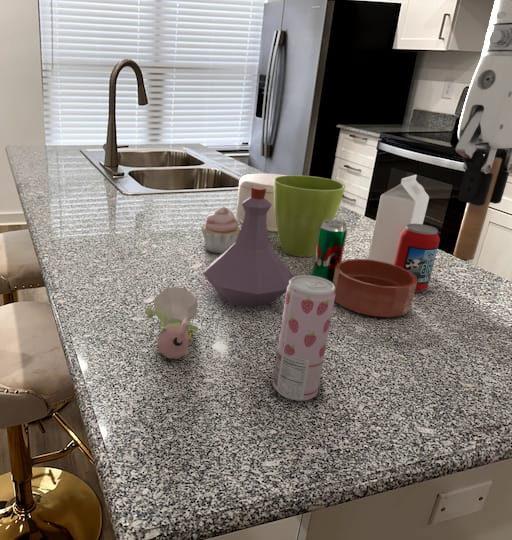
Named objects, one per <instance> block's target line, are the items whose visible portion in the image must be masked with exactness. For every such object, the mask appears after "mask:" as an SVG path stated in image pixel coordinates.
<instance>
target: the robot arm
mask: <svg viewBox="0 0 512 540" xmlns="http://www.w3.org/2000/svg"><path fill="white" fill-rule="evenodd" d="M458 123H459V124H458V129H457V139H458V142H457V144H456V146H455V152H456V153H458V154H459V155H460V156H461V157H462V159H463V161H464V163H463V166H462V167H463V170H464V172H463V173H464V174H463V176H462V177H463V178H462V181H461V184H460V189H459V193H458V197H457V199H458V201H459V202H463V203H466V204H467V203H470V204H474V205H478V206H482V205H484V204H485V201H486V198H487V194H488V191H489V187H490V184H491V180H492V177H493V174H492V173H489V172H490V170H491V167H492V164H493V161H494V158H495V157H497V158H501V159H502V162H501V166H500V169H499V173H498V176H497V180H496V183H495V187H494V190H493V194H492V197H491V201H490V204H495V205H496V204H500V203H501V202H502V199H503V196H504V192H505V189H506V186H507V182H508V178H509V177H510V176H509V175H510V173H511V171H512V0H494V2H493V8H492V11H491V16H490V19H489V23H488V27H487V32H486V34H485V39H484V43H483V47H482V51H481V55H480V59H479V61H478V63H477V67H476V69H475V72H474V74H473V76H472V80H471V82H470V85H469V88H468V91H467V95H466V97H465V101H464V103H463V107H462V112H461V115H460V118H459V122H458ZM484 143H488V144H484ZM483 152H485V153H483Z"/></svg>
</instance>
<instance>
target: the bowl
mask: <svg viewBox="0 0 512 540" xmlns="http://www.w3.org/2000/svg"><path fill="white" fill-rule="evenodd" d="M333 284H334V286H335V300H334V302H335V303H337V304H339V305H340V306H341V307H343V308H345V309H347V310H349V311H352V312H355V313H358V314H361V315H364V316H372V317H379V318H380V317H381V318H393V317H402V316H404V315H406V314H408V313H409V312H411V307H412V303H413V300H414V295H415V293H416V292H415V288H416V284H417V277H416V276H415V275H414V274H413V273H412V272H410V271H408V270H406V269H404V268H402V267H400V266H397V265H394V264H390V263H387V262H382V261H376V260H370V259H368V258H349V259H344V260H342V261H341V262H338V263H337V265H336V267H335V273H334V278H333Z"/></svg>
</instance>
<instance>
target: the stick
mask: <svg viewBox="0 0 512 540" xmlns="http://www.w3.org/2000/svg"><path fill="white" fill-rule="evenodd" d="M501 162H502V159H501V158H497V157H495V158H494V161H493V164H492V167H491V170H490V172H489V173H492V174H493V177H492V180H491V184H490V187H489V191H488V194H487V198H486V201H485V204H484V205H482V206H478V205H474V204H470V203H466V205H465V209H464V213H463V216H462V217H463V218H462V221H461V224H460V228H459V232H458V236H457V239H456V243H455V247H454V250H453V255H452V256H453V257H455V258H457V259H460V260H465V261H473V260H474V259H475V257H476V253H477V249H478V246H479V242H480V240H481V239H480V238H481V236H482V232H483V228H484V225H485V221H486V218H487V214H488V210H489V207H490V204H491V203H490V201H491V197H492V194H493V190H494V187H495V183H496V180H497V176H498V173H499V169H500V166H501Z"/></svg>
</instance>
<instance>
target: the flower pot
mask: <svg viewBox="0 0 512 540" xmlns="http://www.w3.org/2000/svg"><path fill="white" fill-rule="evenodd" d="M345 189H346V185H345V184H344V183H342V182H341V181H338V180H334V179H330V178H325V177H320V176H311V175H298V174H297V175H294V174H293V175H292V174H291V175H287V176H279V177H276V178H275V179H274V206H275V216H276V224H277V230H278V231H277V235H278V240H279V243H280V244H279V245H280V248H281V251H282V252H283V253H284V254H286V255H290V256H292V257H293V256H294V257H298V258H309V257H314V256H315V250H316V244H317V238H318V232H319V227H320V225H321V224H322V221H323V220H335V217H336V215H337V212H338V210H339V207H340V204H341V201H342V199H343V195H344V192H345Z"/></svg>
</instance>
